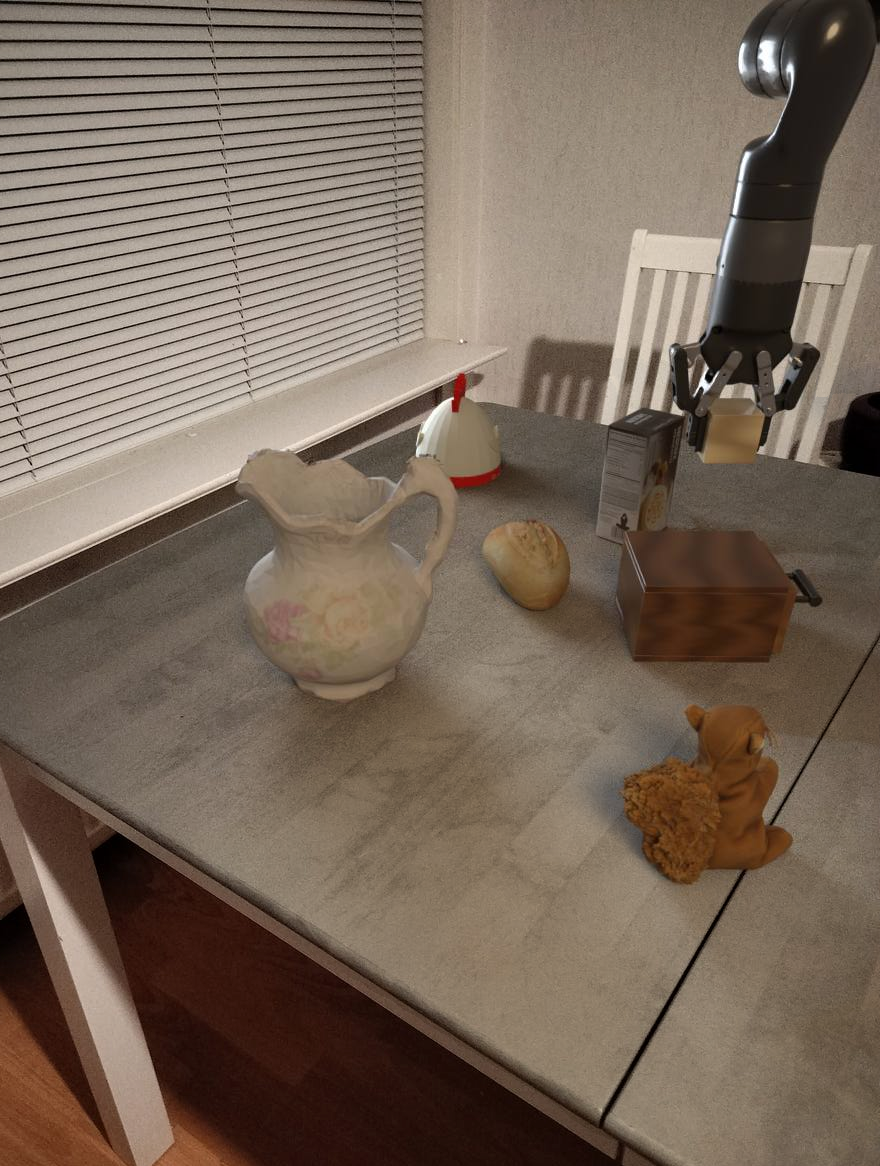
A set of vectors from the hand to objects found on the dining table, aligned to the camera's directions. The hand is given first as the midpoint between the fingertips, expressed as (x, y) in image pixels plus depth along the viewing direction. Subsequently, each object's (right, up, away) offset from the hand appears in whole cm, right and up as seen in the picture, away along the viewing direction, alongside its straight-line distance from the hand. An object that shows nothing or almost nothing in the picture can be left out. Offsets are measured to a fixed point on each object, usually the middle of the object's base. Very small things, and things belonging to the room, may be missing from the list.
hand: (723, 448), depth 86 cm
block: (0, -1, 0) cm, 1 cm away
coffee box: (-1, -4, +33) cm, 33 cm away
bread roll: (-17, -13, +21) cm, 30 cm away
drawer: (+4, -18, +11) cm, 21 cm away
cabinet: (0, -18, +12) cm, 22 cm away
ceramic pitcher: (-38, -23, +7) cm, 45 cm away
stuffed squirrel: (-8, -37, -15) cm, 41 cm away
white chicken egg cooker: (-24, +8, +52) cm, 58 cm away
